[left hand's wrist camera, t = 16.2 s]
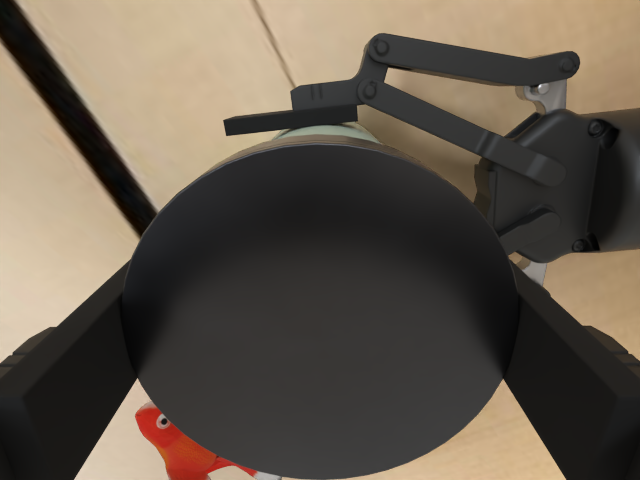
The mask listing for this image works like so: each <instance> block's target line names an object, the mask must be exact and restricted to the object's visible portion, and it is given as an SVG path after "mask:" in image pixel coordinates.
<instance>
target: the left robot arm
mask: <svg viewBox="0 0 640 480" xmlns="http://www.w3.org/2000/svg"><path fill="white" fill-rule="evenodd" d="M509 260H510V259H509ZM130 261H131V259H130V260H129V261H128V262H127V263H126V264H125V265H124V266H123V267H122V268H121V269H119V270H118V271H117V272H116V273H115V274H114V275H113V276H112V277H111V278H110V279H109V280H107V281H106V282H105V283H104V284H103V285H102V286H101V287H100V288H99V289H98V290H96V291H95V292H94V293H93V294H92V295H91V296H90V297H89V298H88V299H87V300H86V301H84V302H83V303H82V304H81V305H80V306H79V307H78V308H77V309H76V310H75V311H74V312H72V313H71V314H70V315H69V316H68V317H67V318H66V319H65V320H64V321H63V322H62V323H60V324H59V325H58V326H57V327H49V328H47V329H46V330H44V331H42V332H40V333H38V334H36V335H35V336H33V337H31V338H29V339H28V340H27V341H26V342H24V343H23V344H22V345H21V346H20V347H19V348H18V349H16V350H15V351H14V352H13V355H9V356H8V357H7V358H6V359H5V360H4V361H3V362H1V363H0V480H74V479H75V477H76V475H77V474H78V472H79V471H80V469H81V467H82V466H83V464H84V463H85V461H86V459H87V458H88V456H89V455H90V453H91V451H92V450H93V448H94V447H95V445H96V443H97V442H98V440H99V439H100V437H101V435H102V434H103V432H104V431H105V429H106V427H107V426H108V424H109V423H110V421H111V419H112V418H113V416H114V415H115V413H116V411H117V410H118V408H119V407H120V405H121V403H122V402H123V400H124V399H125V397H126V395H127V394H128V392H129V391H130V389H131V387H132V386H133V384H134V383H135V381H136V379H137V378H138V377H137V375H136V373H135V371H134V369H133V367H132V364H131V361H130V358H129V355H128V352H127V348H126V344H125V339H124V334H123V328H122V296H123V289H124V282H125V277H126V274H127V271H128V267H129V264H130ZM510 263H511V265H512V268H513V271H514V275H515V280H516V285H517V290H518V298H519V323H518V331H517V336H516V341H515V345H514V350H513V354H512V358H511V361H510V363H509V366H508V368H507V370H506V372H505V375H504V377H503V379H504V381H505V382H506V384H507V385H508V387H509V389H510V390H511V392H512V393H513V395H514V397H515V398H516V400H517V401H518V403H519V405H520V406H521V408H522V409H523V411H524V413H525V414H526V416H527V417H528V419H529V421H530V422H531V424H532V425H533V427H534V429H535V430H536V432H537V433H538V435H539V437H540V438H541V440H542V441H543V443H544V445H545V446H546V448H547V449H548V451H549V453H550V454H551V456H552V457H553V459H554V461H555V462H556V464H557V465H558V467H559V469H560V470H561V472H562V473H563V475H564V477H565V478H566V480H640V361H639V360H638V359H636V358H635V357H634V356H633V355H632V354H628V351H627V350H626V349H625V348H624V347H623V346H621V345H620V344H619V343H618V342H617V341H616V340H614V339H613V338H612V337H610V336H608V335H607V334H605V333H603V332H601V331H599V330H598V329H596V328H594V327H592V326H582V325H581V324H580V323H579V322H578V321H577V320H575V319H574V318H573V317H572V316H571V315H570V314H569V313H568V312H567V311H566V310H565V309H563V308H562V307H561V306H560V305H559V304H558V303H557V302H556V301H555V300H554V299H553V298H551V297H550V296H549V295H548V294H547V293H546V292H545V291H544V290H543V289H542V288H541V287H539V286H538V285H537V284H536V283H535V282H534V281H533V280H532V279H531V278H530V277H528V276H527V275H526V274H525V273H524V272H523V271H522V270H521V269H520V268H519V267H518V266H516V265H515V264H514V263H513V262H512V261H511V260H510Z"/></svg>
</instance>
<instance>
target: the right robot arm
mask: <svg viewBox="0 0 640 480" xmlns="http://www.w3.org/2000/svg"><path fill="white" fill-rule="evenodd" d="M579 65H580V59H579V56H578V55H577V53H575V52H573V51H566V52H559V53H553V54H546V55H540V56H535V57H530V58H521V57H516V56H510V55H504V54H499V53H493V52H487V51H482V50H476V49H470V48H465V47H459V46H453V45H448V44H442V43H437V42H431V41H425V40H420V39H414V38H408V37H403V36H397V35H391V34H386V33H379V34H377V35H375V36H374V37H373V38H372V39H371V40H370V41H369V42H368V43H367V44H366V45H365V48H364V54H363V57H362V61H361V65H360V69H359V71H358V73H357V74H356V76H355V77H353V78H352V79H350V80H344V81H335V82H327V83H318V84H310V85H301V86H298V87H297V88H295V89H293V90H292V91H290V92H291V100H292V108H293V110H287V111H278V112H270V113H261V114H252V115H243V116H235V117H232V118H229V119H225V120H223V121H224V127H225V132H226V136H231V135H239V134H248V133H257V132H266V131H275V130H284V129H293V128H302V127H311V126H320V125H329V124H338V123H347V122H356V121H358V117H357V105H364V104H366V105H368V106H370V107H373V108H375V109H377V110H379V111H381V112H384V113H386V114H388V115H390V116H393V117H395V118H397V119H399V120H401V121H404V122H406V123H408V124H410V125H413V126H415V127H417V128H419V129H421V130H424V131H426V132H428V133H430V134H433V135H435V136H437V137H439V138H442V139H444V140H446V141H448V142H450V143H453V144H455V145H457V146H459V147H461V148H464V149H466V150H468V151H470V152H473V153H475V154H477V155H479V156H481V157H482V158H481V159H480V162H479V164H476V165H475V173H474V178H475V182H476V187H477V194H476V197H475V201H474V205H476V206H477V208H478V209H479V210H480V211H481V213H482V214H483V215H484V216H485V218H486V219H487V220H488V221H489V223H490V224H491V225H492V226H493V228H494V230H495V231H496V233H497V235H498V237H499V239H500V240H501V242H502V244H503V246H504V247H505V249H506V252H507V255H510V254H511V253H513V252H517V253H518V254H520V255H522V256H523V258H522V259H521V261H520V262H519V263H517V264H515V265H516V266H518V267H519V268H520V269H521V270H522V271H523V272H524V273H525V274H526V275H527V276H528V277H530V278H531V279H532V280H533V281H534V282H535V283H536V284H537V285H538V286H539V287H541V288H542V289H543V290H544V291H545V292H546V293H547V294H548V295H549V296H550V293H549V292H548V291H547V290H546V289H545V288H544V287H543V281H544V276H545V272H546V267H547V263H549V262H552V261H554V260H556V259H557V258H559V257H561V256H563V255H566V254H569V253H575V252H581V253H601V252H612V251H622V250H633V249H640V108H636V109H627V110H618V111H608V112H599V113H590V114H581V115H579V114H576V113H574V112H572V111H570V110H567V109H566V86H567V79H568V78H570V77H572V76H573V75H574V74H575V73H576V72H577V70H578V69H579ZM388 68H393V69H399V70H405V71H411V72H417V73H422V74H428V75H434V76H440V77H446V78H451V79H457V80H463V81H469V82H474V83H480V84H486V85H493V86H515V92H516V95H517V97H518V98H519V99H521V100H526V101H531V102H533V103H534V104H535V106H536V112H535V113H533V114H532V115H531V116H529V117H528V118H527V119H526V120H524V121H523V122H522V123H521V124H519V125H518V126H517V127H516V128H514V129H513V130H512V131H511V132H509V133H508V134H507V135H506V136H504V137H503V136H500V135H498V134H496V133H493V132H490V131H488V130H486V129H483V128H481V127H479V126H477V125H475V124H473V123H470V122H468V121H466V120H464V119H462V118H460V117H457V116H455V115H453V114H451V113H449V112H447V111H444V110H442V109H440V108H438V107H436V106H434V105H431V104H429V103H427V102H425V101H423V100H421V99H418V98H416V97H414V96H412V95H410V94H408V93H405V92H403V91H401V90H399V89H397V88H395V87H392V86H390V85H388V84H386V83H384V80H385V76H386V73H387V69H388Z"/></svg>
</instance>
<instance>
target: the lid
mask: <svg viewBox="0 0 640 480" xmlns="http://www.w3.org/2000/svg"><path fill="white" fill-rule="evenodd" d="M518 323H519V298H518V290H517V285H516V280H515V275H514V271H513V268H512V265H511V263H510V260H509V257H508V255H507V252H506V249H505V247H504V246H503V244H502V242H501V240H500V239H499V237H498V235H497V233H496V231H495V230H494V228H493V226H492V225H491V224H490V223H489V221H488V220H487V219H486V218H485V216H484V215H483V214H482V213H481V211H480V210H479V209H478V208H477V206H476V205H474V204H473V203H472V202H471V201H470V200H469V199H468V198H467V197H466V196H465V195H464V194H463V193H461V192H460V191H459V190H458V189H457V188H456V187H455V186H453V185H452V184H451V183H449V182H448V181H447V180H445V179H444V178H443V177H441V176H440V175H439V174H437V173H436V172H434V171H433V170H431V169H430V168H428V167H427V166H425V165H424V164H423V163H421V162H420V161H418V160H417V159H415V158H413V157H410V156H408V155H406V154H404V153H402V152H400V151H398V150H396V149H394V148H391V147H388V146H385V145H382V144H379V143H376V142H373V141H370V140H365V139H360V138H355V137H349V136H344V135H324V134H312V135H301V136H289V137H285V138H281V139H276V140H272V141H267V142H263V143H261V144H258V145H255V146H253V147H250V148H247V149H245V150H242V151H239V152H238V153H236V154H234V155H232V156H230V157H228V158H227V159H225V160H223V161H221V162H219V163H217V164H216V165H215V166H213V167H212V168H211V169H209V170H208V171H207V172H205V173H204V174H203V175H201V176H200V177H199V178H197V179H196V180H195V181H193V182H192V183H191V184H189V185H188V186H187V187H185V188H184V189H183V190H181V191H180V192H179V193H177V194H176V195H175V196H174V197H173V198H172V199H171V200H170V202H169V203H168V204H167V205H166V206H165V207H164V208H163V209H162V210H161V211H160V212H159V213H158V214H157V215H156V217H155V218H154V220H153V221H152V222H151V224H150V225H149V227H148V228H147V229H146V231H145V232H144V233H143V235H142V237H141V239H140V241H139V243H138V245H137V247H136V249H135V251H134V253H133V255H132V258H131V261H130V264H129V267H128V271H127V274H126V277H125V282H124V289H123V296H122V328H123V334H124V339H125V344H126V348H127V352H128V355H129V358H130V361H131V364H132V367H133V369H134V371H135V373H136V375H137V377H138V379H139V381H140V383H141V385H142V387H143V388H144V390H145V391H146V393H147V394H148V396H149V397H150V399H151V400H152V402H153V403H154V405H155V406H156V407H157V408H158V409H159V410H160V411H161V413H162V414H163V415H164V416H165V417H166V418H167V419H168V420H169V421H170V422H171V423H172V424H173V425H174V426H175V427H176V428H178V429H179V430H180V431H181V432H182V433H183V434H184V435H186V436H187V437H189V438H190V439H191V440H193V441H194V442H196V443H197V444H198V445H200V446H201V447H203V448H205V449H207V450H208V451H210V452H212V453H214V454H216V455H217V456H219V457H221V458H224V459H226V460H228V461H231V462H233V463H235V464H237V465H240V466H243V467H246V468H249V469H252V470H255V471H258V472H262V473H267V474H271V475H276V476H280V477H288V478H296V479H311V480H330V479H346V478H352V477H359V476H365V475H370V474H374V473H378V472H382V471H386V470H389V469H392V468H395V467H397V466H400V465H403V464H406V463H408V462H410V461H413V460H415V459H417V458H419V457H421V456H423V455H425V454H427V453H429V452H431V451H432V450H434V449H436V448H437V447H439V446H440V445H442V444H444V443H445V442H447V441H448V440H449V439H451V438H452V437H453V436H454V435H456V434H457V433H458V432H460V431H461V430H462V429H463V428H464V427H465V426H466V425H467V424H468V423H470V422H471V421H472V420H473V419H474V418H475V417H476V416H477V415H478V414H479V412H480V411H481V410H482V409H483V407H484V406H485V405H486V404H487V402H488V401H489V400H490V399H491V397H492V396H493V394H494V392H495V391H496V389H497V388H498V386H499V384H500V383H501V381H502V379H503V377H504V375H505V372H506V370H507V368H508V366H509V363H510V361H511V358H512V354H513V350H514V345H515V341H516V336H517V331H518Z"/></svg>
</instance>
